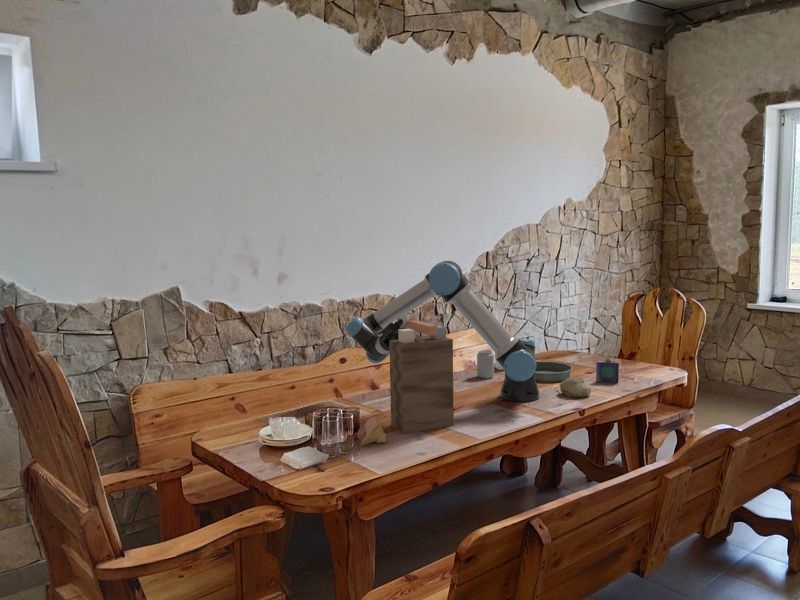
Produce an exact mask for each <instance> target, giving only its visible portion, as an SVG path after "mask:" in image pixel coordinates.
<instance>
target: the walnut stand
mask: <svg viewBox="0 0 800 600" xmlns="http://www.w3.org/2000/svg"><path fill="white" fill-rule="evenodd" d="M414 338H415V342H410V343H402V342H399V341H398V339H394V340H389V345H390V354H389V383H390V385H389V386H390V389H389V390H390V391H389V393H390V426H391V427H392V428H394V429H396V430H397V431H399V432H400V433H402V434H404V435H406V434H411V433H417V432H423V431H428V430H434V429H440V428H441V429H442V428H445V427H452V426H454V421H455V420H454V344H453V343H454V339H453V338H451V337H450V338H449V337H448V336H446V339H439V340H435V339H431V338H430V335H426V336H414Z"/></svg>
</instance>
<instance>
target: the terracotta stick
mask: <svg viewBox="0 0 800 600" xmlns="http://www.w3.org/2000/svg"><path fill="white" fill-rule="evenodd" d="M402 317H403V316H402ZM402 317H400V318H397V320H396V322H397V321H398V320H400V319H401V318H402ZM408 318H409V321H408V322H407V323H406V324H405V325H404V326H403V328H406V329H412V330H414V332H417V333H420V334H424V335H426V336H430V335H437V326H438V325H436V324H434V323H429V322H425V321H421V320H414V319H410V317H408Z"/></svg>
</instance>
